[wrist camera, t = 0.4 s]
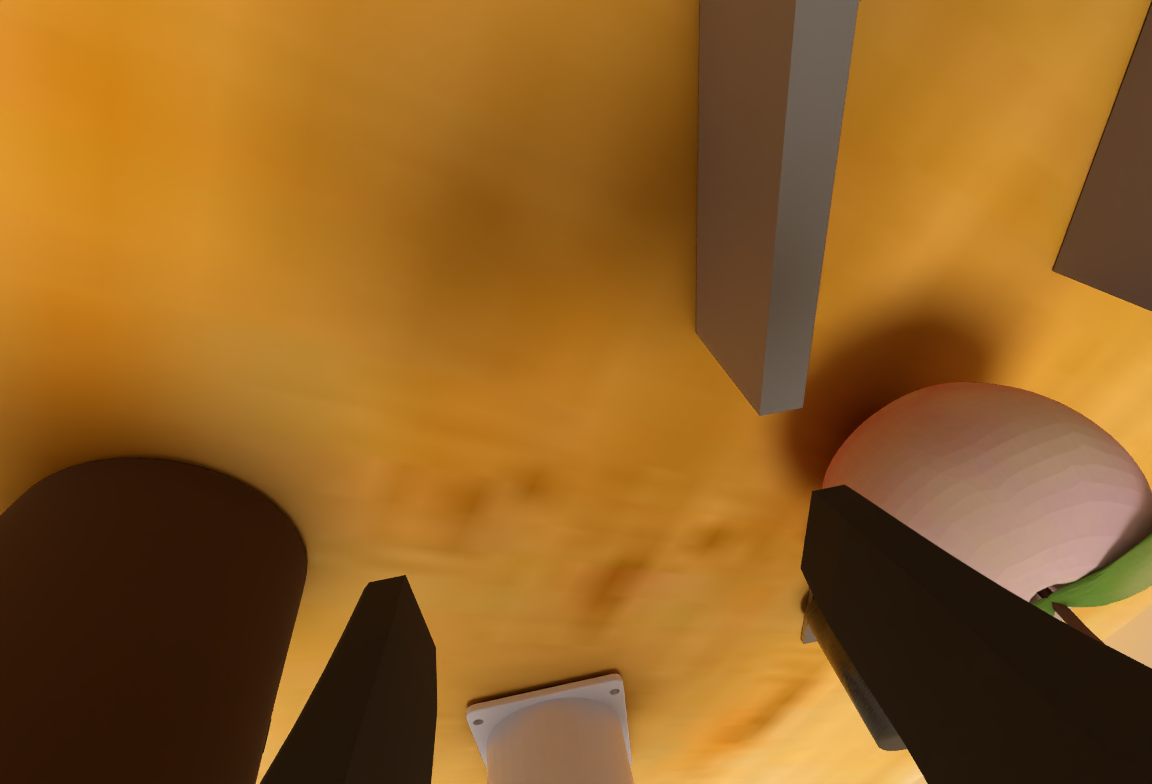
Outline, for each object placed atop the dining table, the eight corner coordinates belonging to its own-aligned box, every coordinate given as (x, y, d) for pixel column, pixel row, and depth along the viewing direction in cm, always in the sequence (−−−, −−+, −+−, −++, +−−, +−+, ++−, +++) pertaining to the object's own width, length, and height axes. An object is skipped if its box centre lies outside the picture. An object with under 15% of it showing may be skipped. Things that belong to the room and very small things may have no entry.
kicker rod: (863, 619, 29) (945, 739, 24) (797, 633, 29) (866, 758, 24) (892, 514, 25) (998, 632, 20) (815, 529, 25) (903, 654, 20)
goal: (1083, 265, 20) (1241, 325, 16) (695, 332, 19) (759, 415, 15) (1232, -107, 15) (1531, -162, 11) (700, -44, 14) (802, -77, 10)
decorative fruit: (905, 277, 19) (1234, 460, 11) (1014, 384, 23) (1327, 584, 15) (718, 464, 23) (865, 715, 14) (839, 533, 26) (1013, 767, 18)
